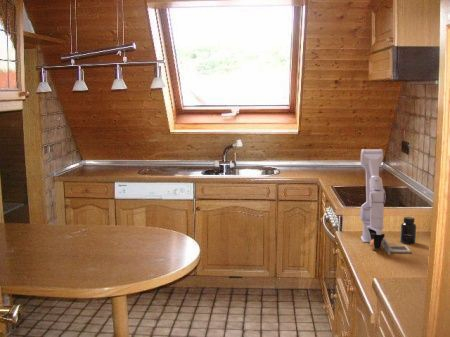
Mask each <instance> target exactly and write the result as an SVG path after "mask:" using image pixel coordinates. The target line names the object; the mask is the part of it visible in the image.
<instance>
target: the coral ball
mask: <svg viewBox="0 0 450 337" xmlns="http://www.w3.org/2000/svg"><path fill="white" fill-rule="evenodd" d="M369 246H370V248H371V249H373V250H376V251H377V250H378V249H375V247H374V240H373V239H372V240H371V242H369ZM381 247H382V242H381V246H380V249H381Z"/></svg>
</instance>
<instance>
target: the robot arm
mask: <svg viewBox="0 0 450 337" xmlns="http://www.w3.org/2000/svg"><path fill="white" fill-rule="evenodd" d="M383 160H384V151H383V149H382V148H379V149H373V148H372V149H369V148H366V149H364V148H362V149H361V151H360V166H361V167H362V168H363V169H364V171H365V194H366V195H365V197H366V198H365V200H366V201H365V202H364V203H363V204H362V205H360V210H359V211H360V213H359V216H360V217H359V220H360V221H361V222H363V223H362V235H361V236H360V239H361V241H362V242H363V243H370V242H371V240H372V239H373V240H374V247H375V249H377V250H380V249H381V248H380V246H381V247H382V245H381V243H382V240H383V238H384V237H385V233H382V232H383V230H384V209H385V207H384V205H385V203H386V198H387V196H386V191H385V188H384V186H383V179H382V177H380V167H381V166H382V163H383ZM375 249H374V250H375Z"/></svg>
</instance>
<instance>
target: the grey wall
mask: <svg viewBox="0 0 450 337" xmlns="http://www.w3.org/2000/svg"><path fill="white" fill-rule="evenodd" d="M381 243H382V245H381V247H383V249H384V250H385V253H386V254H387V255H389V256H390V255H391V254H392V253H391V246H390V245H391V244H390V243H389V241H388V240H387V238H386V237H385V236H384V238H383V240H382V242H381Z"/></svg>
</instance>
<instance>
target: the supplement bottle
mask: <svg viewBox="0 0 450 337" xmlns="http://www.w3.org/2000/svg"><path fill="white" fill-rule="evenodd" d="M416 237H417V224H416V223H415V217H411V216H404V217H403V222H402V223H401V224H400V243H401V244H403V245H414V244H416V240H417V239H416Z"/></svg>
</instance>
